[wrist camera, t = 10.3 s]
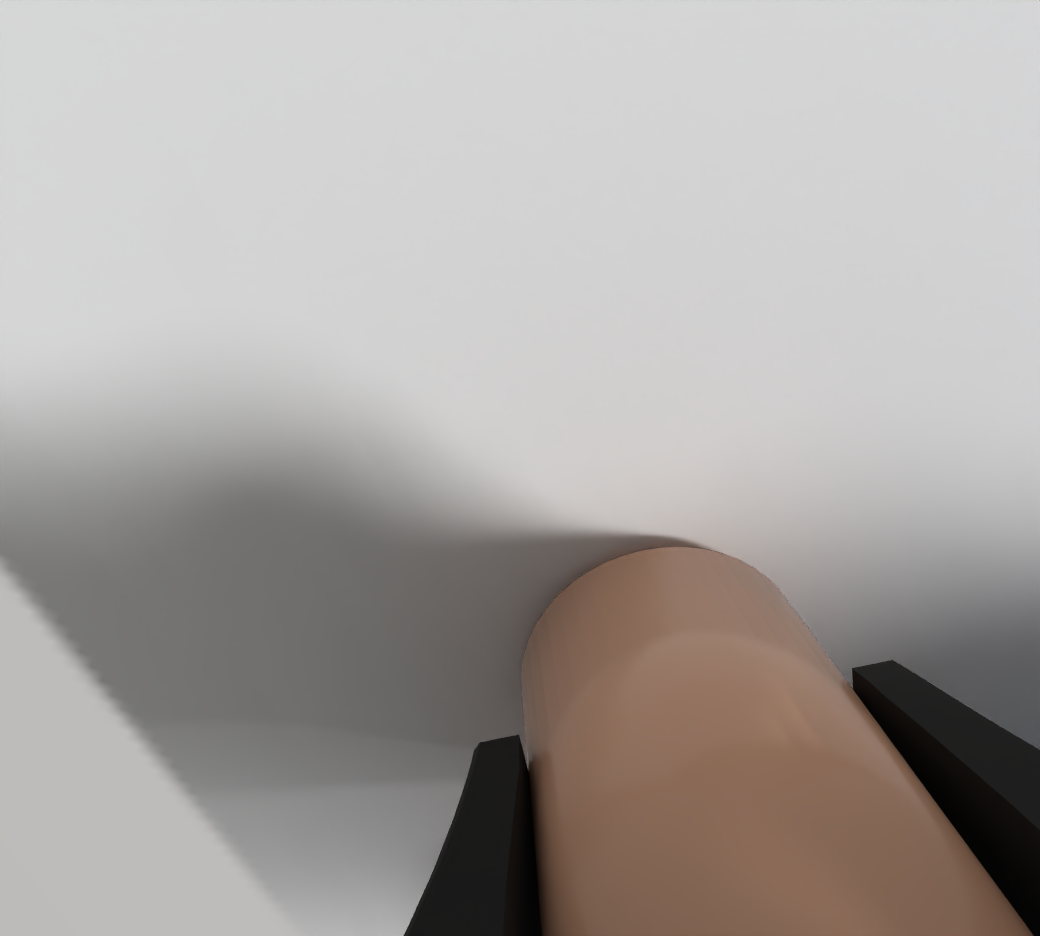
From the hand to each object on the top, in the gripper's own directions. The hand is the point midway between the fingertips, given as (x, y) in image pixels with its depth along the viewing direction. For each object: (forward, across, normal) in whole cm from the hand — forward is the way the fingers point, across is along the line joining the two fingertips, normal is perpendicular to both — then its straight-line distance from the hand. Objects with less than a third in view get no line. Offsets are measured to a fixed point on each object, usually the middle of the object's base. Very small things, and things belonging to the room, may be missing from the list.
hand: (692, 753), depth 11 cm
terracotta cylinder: (+2, 0, 0) cm, 2 cm away
